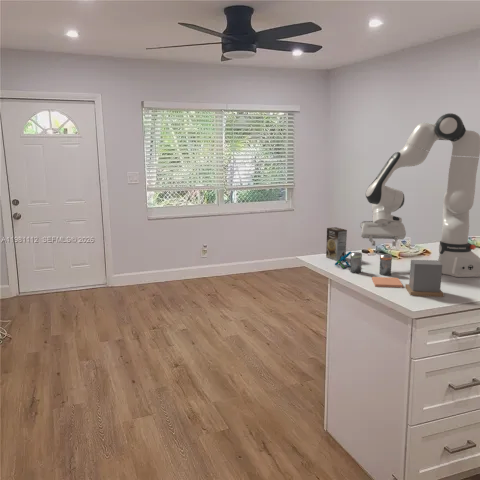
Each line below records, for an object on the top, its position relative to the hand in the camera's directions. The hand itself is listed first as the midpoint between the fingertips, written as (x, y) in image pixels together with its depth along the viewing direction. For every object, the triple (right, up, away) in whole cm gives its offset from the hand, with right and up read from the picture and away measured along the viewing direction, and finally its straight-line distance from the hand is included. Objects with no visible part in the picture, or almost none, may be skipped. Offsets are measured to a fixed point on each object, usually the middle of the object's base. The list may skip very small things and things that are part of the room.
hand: (384, 245), depth 200 cm
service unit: (+6, -18, -30) cm, 36 cm away
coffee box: (-17, -8, +27) cm, 32 cm away
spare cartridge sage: (-13, -13, 0) cm, 18 cm away
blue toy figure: (-17, -11, +11) cm, 23 cm away
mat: (-5, -16, -18) cm, 24 cm away
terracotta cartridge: (-1, -13, -4) cm, 14 cm away
